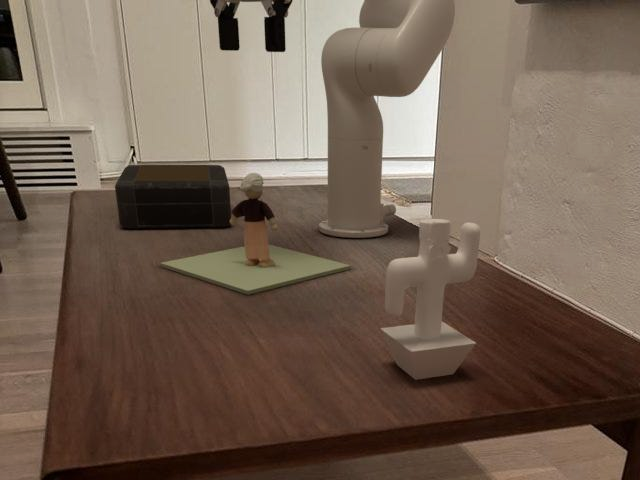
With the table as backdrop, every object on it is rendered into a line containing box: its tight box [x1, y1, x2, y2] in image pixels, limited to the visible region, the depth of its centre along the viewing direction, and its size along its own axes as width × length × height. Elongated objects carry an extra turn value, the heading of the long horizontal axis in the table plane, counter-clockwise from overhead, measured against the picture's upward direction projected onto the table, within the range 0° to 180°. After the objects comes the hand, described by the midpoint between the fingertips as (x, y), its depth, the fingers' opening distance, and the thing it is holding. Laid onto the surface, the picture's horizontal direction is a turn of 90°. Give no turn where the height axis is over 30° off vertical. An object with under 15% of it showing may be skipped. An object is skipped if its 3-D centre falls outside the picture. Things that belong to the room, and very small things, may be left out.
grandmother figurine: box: [230, 172, 279, 267], centre depth 107 cm, size 8×4×13 cm, turn 79°
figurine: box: [379, 218, 481, 381], centre depth 73 cm, size 7×9×15 cm
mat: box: [160, 243, 351, 296], centre depth 110 cm, size 20×20×1 cm
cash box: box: [114, 164, 232, 230], centre depth 141 cm, size 25×20×8 cm
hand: (252, 51), depth 103 cm, fingers open, 9 cm apart
